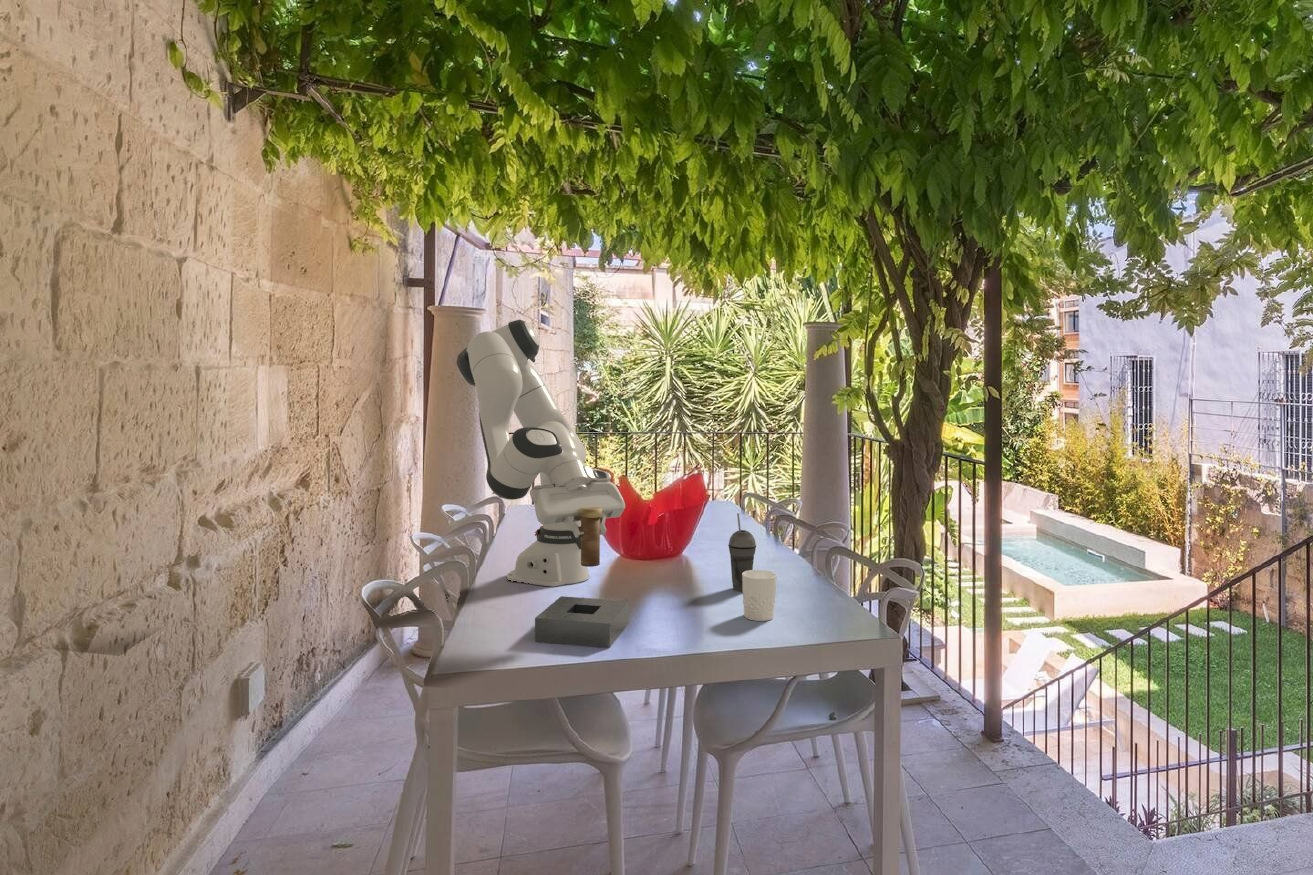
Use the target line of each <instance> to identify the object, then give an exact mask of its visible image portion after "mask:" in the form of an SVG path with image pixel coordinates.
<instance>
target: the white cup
mask: <svg viewBox="0 0 1313 875" xmlns="http://www.w3.org/2000/svg"><path fill="white" fill-rule="evenodd" d="M777 578H778V577H777V573H776V572H774V571H771V570H770V571H769V570H764V569H753V570H749V571H745V572H743V573H742V586H743V592H742V604H743V616H744V617H745V619H747V620H749V621H755V622H767V621H771V620H773V619H774V616H775V605H776V596H777V580H778V579H777Z"/></svg>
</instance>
